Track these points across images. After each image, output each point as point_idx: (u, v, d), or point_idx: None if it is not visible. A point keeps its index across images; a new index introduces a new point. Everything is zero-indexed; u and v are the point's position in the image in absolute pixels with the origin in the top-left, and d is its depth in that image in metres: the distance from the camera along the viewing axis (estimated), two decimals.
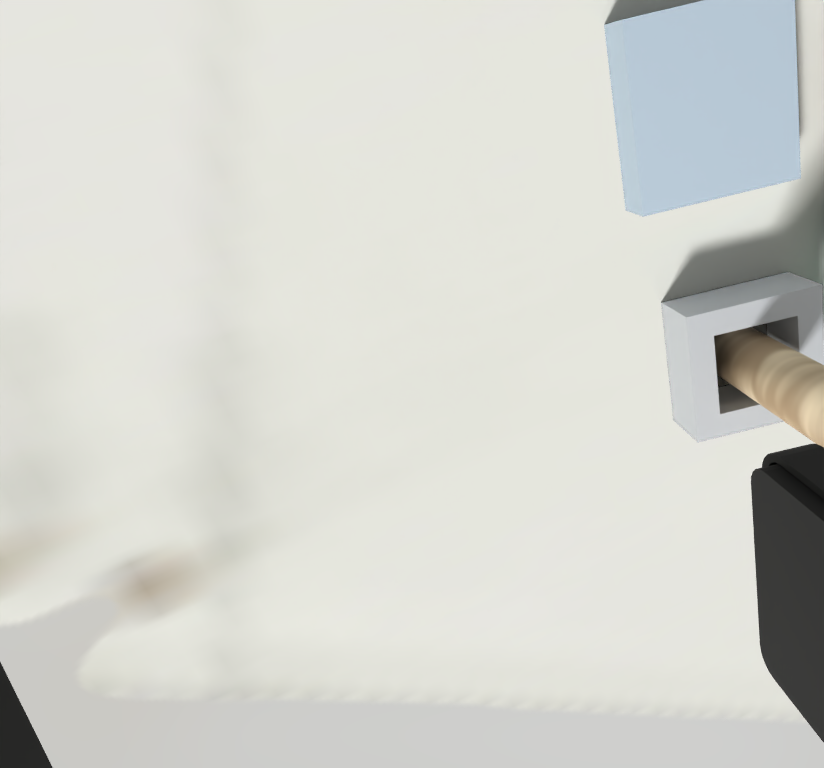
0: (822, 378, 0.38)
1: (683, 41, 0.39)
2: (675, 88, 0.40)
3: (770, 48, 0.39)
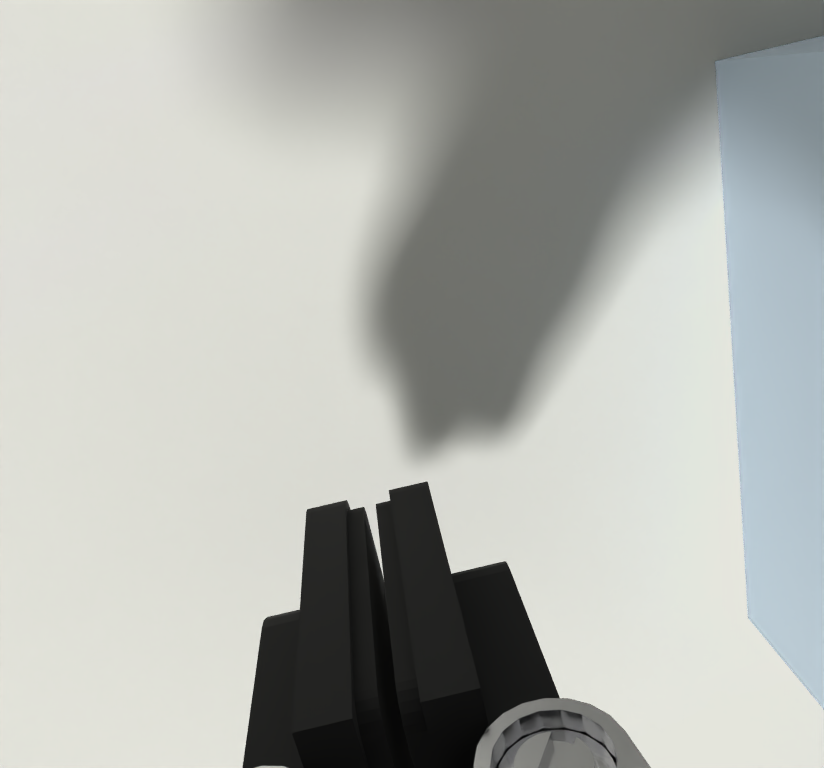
0: None
1: None
2: None
3: None
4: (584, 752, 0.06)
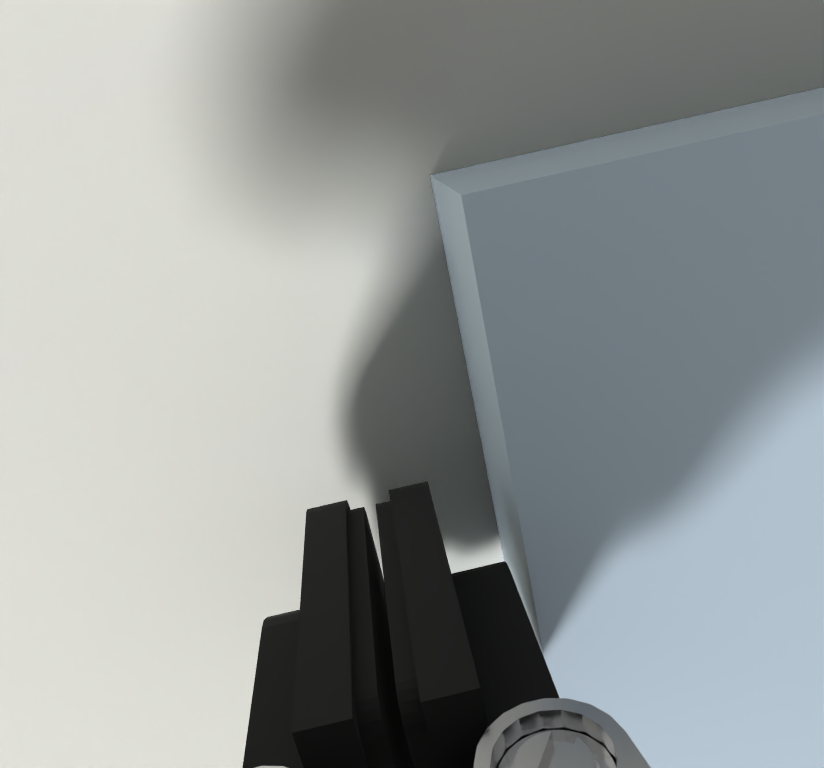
0: None
1: (771, 288, 0.08)
2: (722, 479, 0.09)
3: None
4: (585, 750, 0.06)
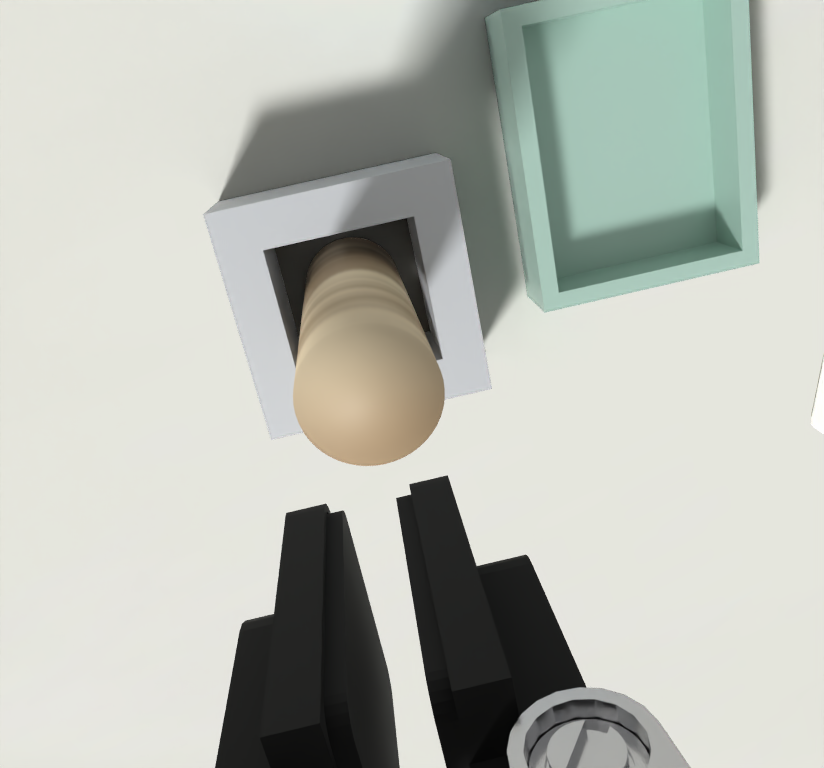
0: (339, 309, 0.19)
1: None
2: None
3: None
4: (619, 740, 0.06)
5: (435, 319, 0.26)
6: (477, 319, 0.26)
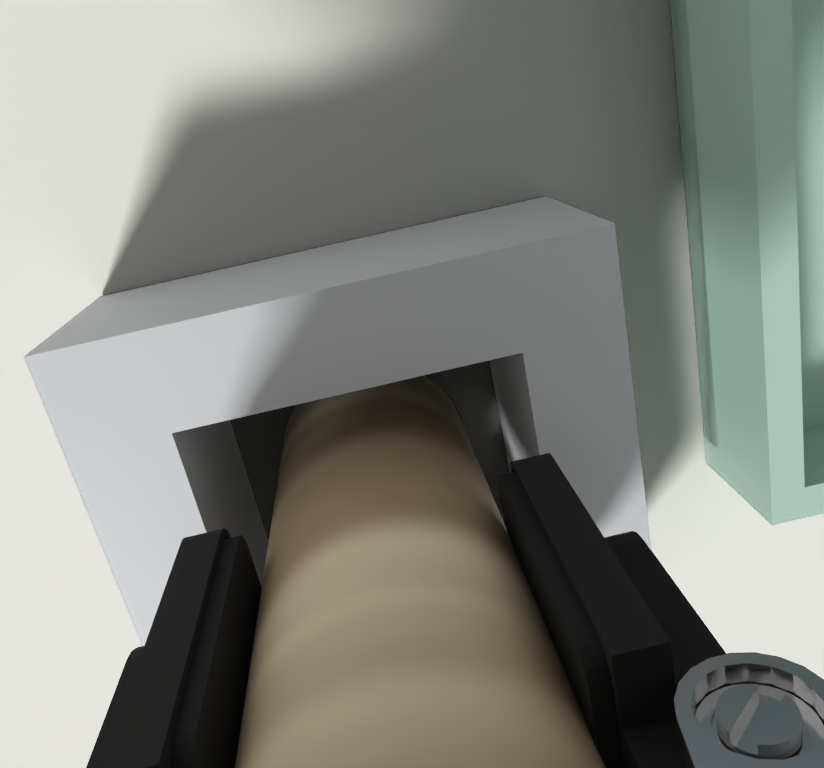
0: None
1: None
2: None
3: None
4: (794, 710, 0.06)
5: None
6: None
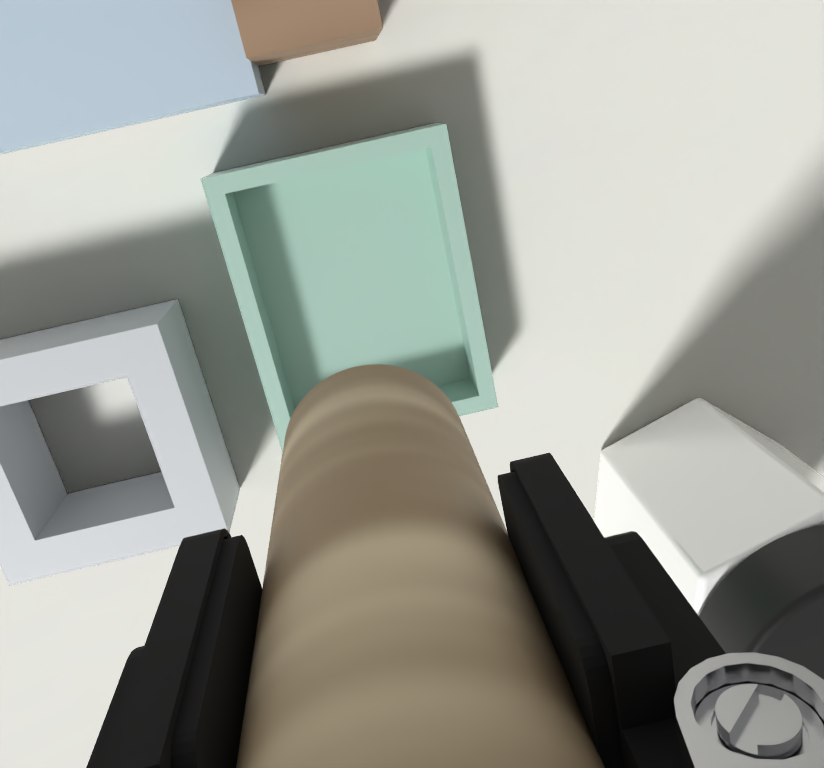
0: None
1: None
2: None
3: None
4: (792, 709, 0.06)
5: (162, 471, 0.26)
6: (205, 470, 0.26)
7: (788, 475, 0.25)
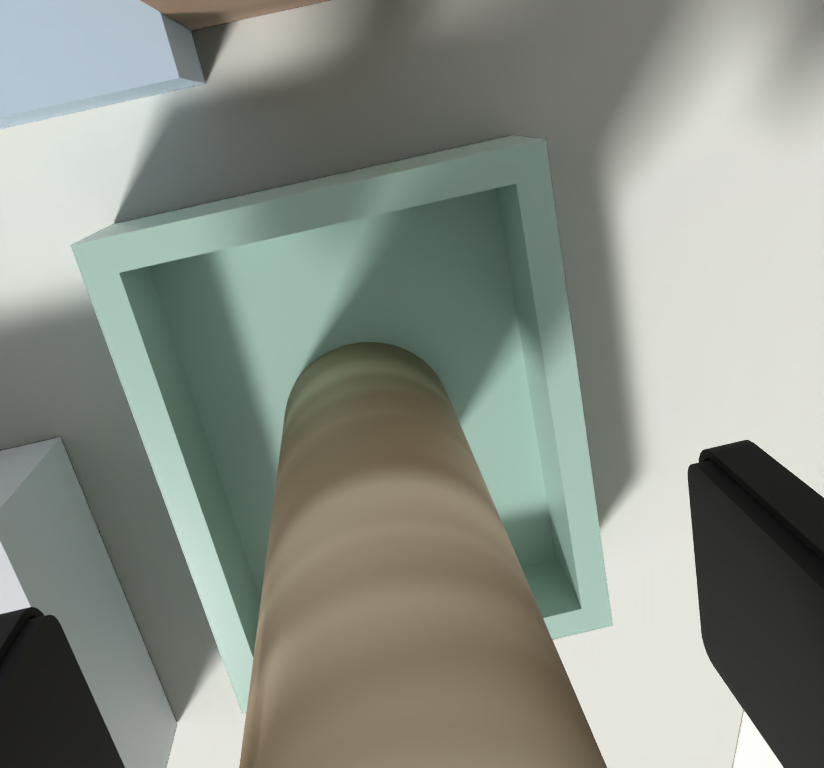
0: (358, 743, 0.06)
1: None
2: None
3: None
4: None
5: None
6: None
7: None
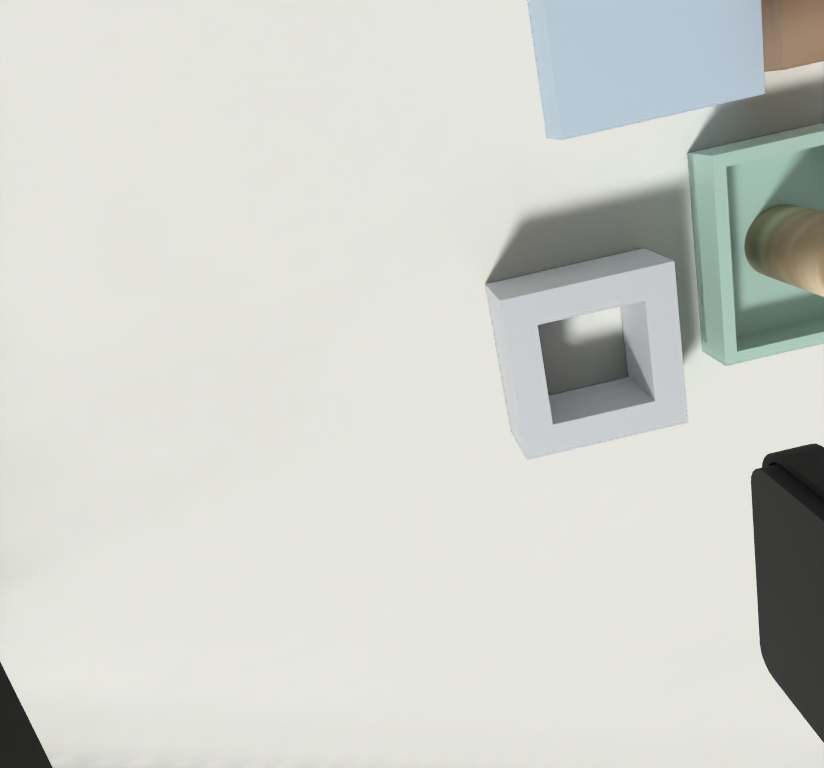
0: None
1: None
2: None
3: None
4: None
5: (652, 372, 0.36)
6: (682, 372, 0.36)
7: None
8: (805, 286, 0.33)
